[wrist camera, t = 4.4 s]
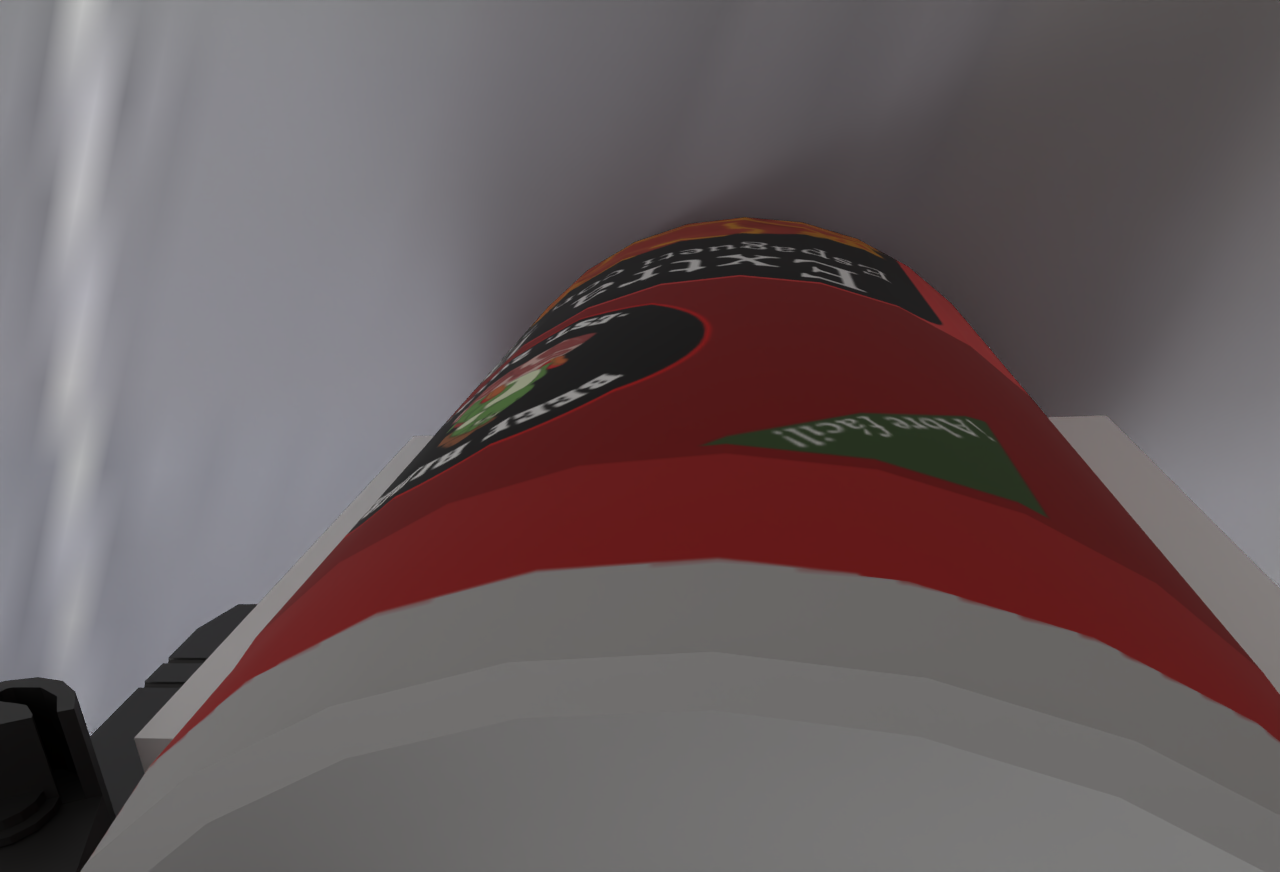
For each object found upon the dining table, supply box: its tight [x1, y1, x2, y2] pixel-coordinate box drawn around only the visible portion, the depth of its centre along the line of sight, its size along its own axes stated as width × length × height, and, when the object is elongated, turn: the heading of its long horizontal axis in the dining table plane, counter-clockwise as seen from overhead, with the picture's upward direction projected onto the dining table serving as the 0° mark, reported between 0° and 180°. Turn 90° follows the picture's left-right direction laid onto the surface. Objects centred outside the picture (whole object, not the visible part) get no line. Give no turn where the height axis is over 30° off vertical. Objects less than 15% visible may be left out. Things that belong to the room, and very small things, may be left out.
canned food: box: [80, 217, 1280, 872], centre depth 10 cm, size 8×8×11 cm
